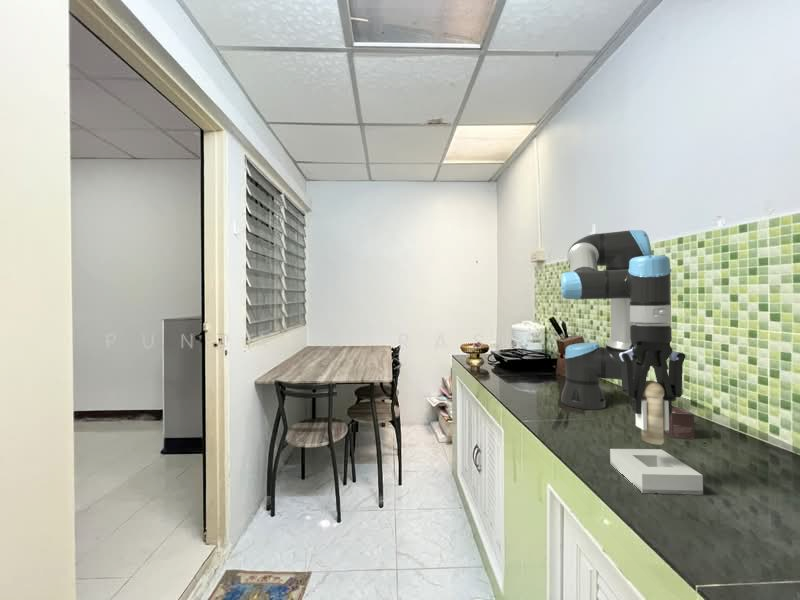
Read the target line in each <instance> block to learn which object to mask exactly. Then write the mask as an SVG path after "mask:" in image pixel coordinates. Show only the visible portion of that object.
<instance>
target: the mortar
mask: <svg viewBox="0 0 800 600" xmlns="http://www.w3.org/2000/svg"><path fill="white" fill-rule="evenodd" d="M609 452H610V453H609V458H610V459H609V460H610V463H609V465H610V464H611V465H612V466H613V467H614V468H615V469H617V470H618V471H619V472H620V473H621V474H623V475H624V476H625V477H626V478H627V479H628V480H629V481H630V482H631V483H633V485H632V486H634V485H635V486H636V487H637V488H638V489H639V490H640V491H641V494H654V493H658V495H661V494H663V495H666V494H667V495H668V494H669V495H704V484H703V483H704V477H703V476H704V475H703V474H701V473H700V472H699V471H697V470H695V469H694V468H692V467H690V466H689V465H687V464H686V463H684V462H683V461H681V460H679V459H677V458H676V457H674V456H672V455H671V454H669V453H668V452H666V451H665V450H663V449H658V448H657V449H655V448H654V449H652V448H651V449H649V448H647V449H645V448H610V449H609ZM611 465H610V466H611ZM612 466H611V467H612ZM613 467H612V468H613ZM614 468H613V469H614ZM615 469H614V470H615ZM617 470H616V471H617ZM618 471H617V472H618ZM619 472H618V473H619ZM620 473H619V474H620ZM621 474H620V475H621ZM625 477H624V478H625ZM626 478H625V479H626ZM627 479H626V480H627ZM628 480H627V481H628ZM629 481H628V482H629ZM630 482H629V483H630ZM631 483H630V484H631ZM635 486H634V487H635ZM636 487H635V488H636ZM637 488H636V489H637ZM638 489H637V490H638ZM639 490H638V491H639ZM640 491H639V492H640Z"/></svg>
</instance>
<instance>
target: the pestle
mask: <svg viewBox="0 0 800 600" xmlns="http://www.w3.org/2000/svg"><path fill="white" fill-rule="evenodd" d="M663 397H664V389H663V387H662V386H661V385H660V384H659V383H657V381H654V380H646V383H645V388H644V394H643V398H642V399H643V400H646V402H647V430H642V429H641V428H640V429H641V430H640V431H641V432H640V433H641V440H642V441H643V442H645V443H648V444H652V445H663V444H664V443H665V441H664V440H665V439H664V436H665V435H664V432H663Z"/></svg>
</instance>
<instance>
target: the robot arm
mask: <svg viewBox="0 0 800 600" xmlns="http://www.w3.org/2000/svg"><path fill="white" fill-rule="evenodd" d="M566 257H567V262H568V264H569V271H568V272H567V271H566V272H563V273H562V275H561V277H560V278H561V279H560V280H561V281H560V283H561V285H560V286H561V296H562V298H563V299H565V300H575V301H578V300H599V299H600V300H606V299H607V300H609V299H610V338H609V340H607V341H606V342H605V346H604V347H603V346H601V345H600V343H598V342H580V343H574V344H569V345H567V346H566V347H565V353H564V354H565V355H564V359H565V384H564V386H563V389H562V391H561V395H560V402H561V403H562V404H563V405H566V406H568V407H571V408H575V409H576V408H577V409H581V410H582V409H583V410H603V409H605V408H606V403H607V402H606V399H605V396H604V393H603V390H602V387H601V381H600V379H606V380H607V379H608V380H619V381H620V380H621V390H622V391H621V392H622V394H623V395H625V396H627V397H629V398H630V399H631V410H632V413H634V414H635V426H636V427H637V428H639V429H642V430H647V402H646V400H643V399H642V398H643V394H644V388H645V383H646V381H647V377H648V373H649V371H650V370H651V367H652V369H653V370H654V374H655V379H656V382H657V383H659V384H660V385H661V386H662V387H663V389H664V397H663V429H664V430H669V414H671V413H672V407H673V403H672V402H675V401H677V398H681V397H682V395H683V365H684V362H685V359H686V357H687V356H686V354H685V353H683V352H678V351H675V350H673V348H672V346H671V343H672V341H673V340H672V339H673V336H672V335H673V333H672V327H671V326H670V325H669V324H671V323H672V305H671V303H672V297H671V293H672V290H671V289H672V288H671V285H672V284H671V280H672V279H671V277H672V276H671V275H672V274H671V273H672V269H671V261H670V258H669V256H667V255H661V254H656V255H654V254H652V246H651V241H650V238H649V235H648V234H647V232H646V231H645V230H642V229H638V230H637V229H636V230H635V229H634V230H630V229H629V230H622V231H621V230H620V231H613V232H611V231H610V232H603V233H593V234H589V235H586V236H583V237H582V238H580V239H578V240H577V241H575V242H574V243H573V244H572V245H571V246H570V247H569V249H568V251H567V255H566ZM603 266H604V267H605V270H599V268H598V267H603ZM668 359H669V361H667V360H668Z"/></svg>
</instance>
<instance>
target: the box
mask: <svg viewBox="0 0 800 600" xmlns="http://www.w3.org/2000/svg"><path fill="white" fill-rule="evenodd" d="M663 433H665V435H668V436H669V437H671V438H672V439H691V440H695V438H696V436H695V414H694V413H692V412H690V411H689V410H686V409H684V408H682V407H673V406H672V413H671V414H669V430H664V429H663Z"/></svg>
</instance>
